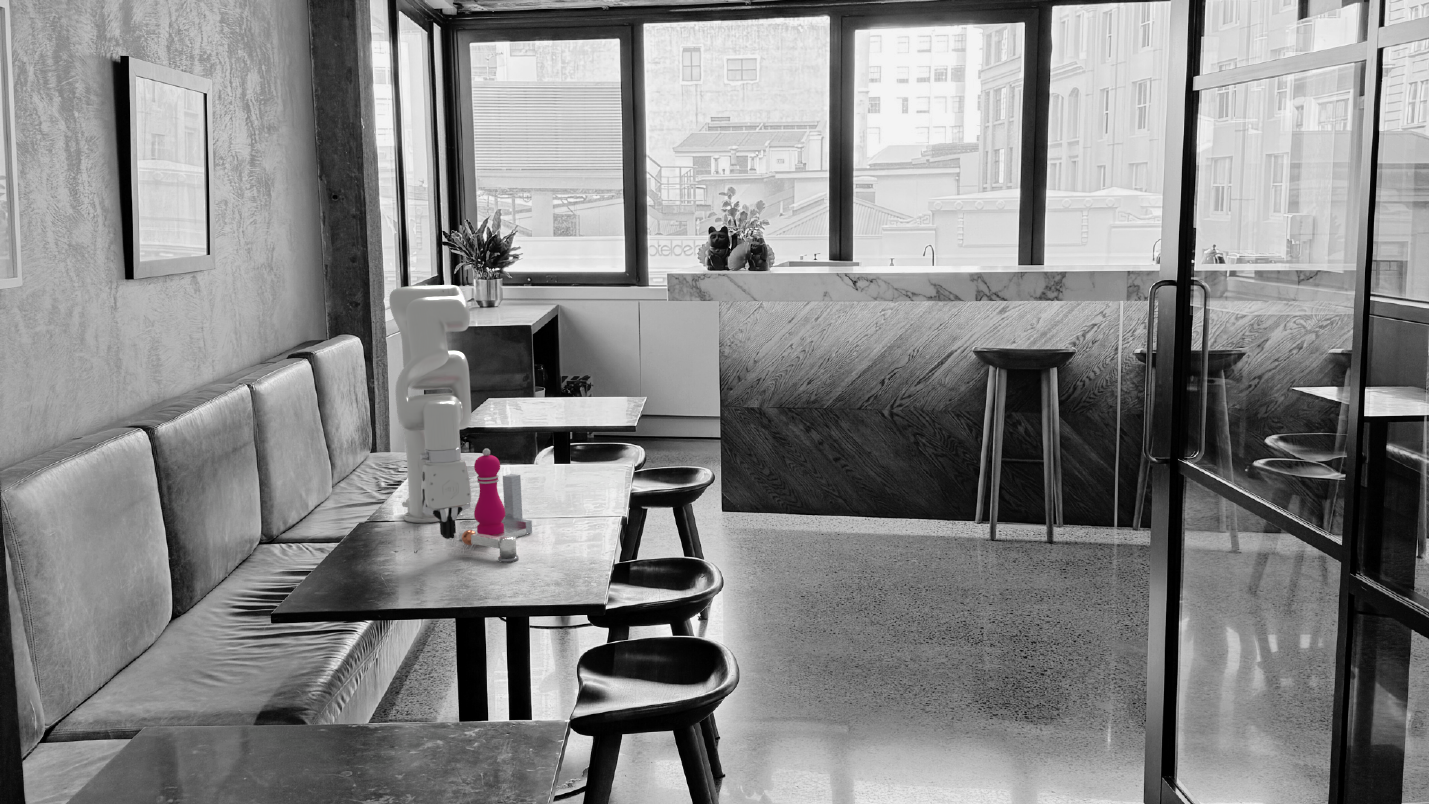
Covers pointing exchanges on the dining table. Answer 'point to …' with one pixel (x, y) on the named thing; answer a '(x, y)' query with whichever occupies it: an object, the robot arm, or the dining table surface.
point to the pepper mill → (488, 496)
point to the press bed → (512, 512)
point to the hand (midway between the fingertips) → (448, 537)
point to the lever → (492, 542)
